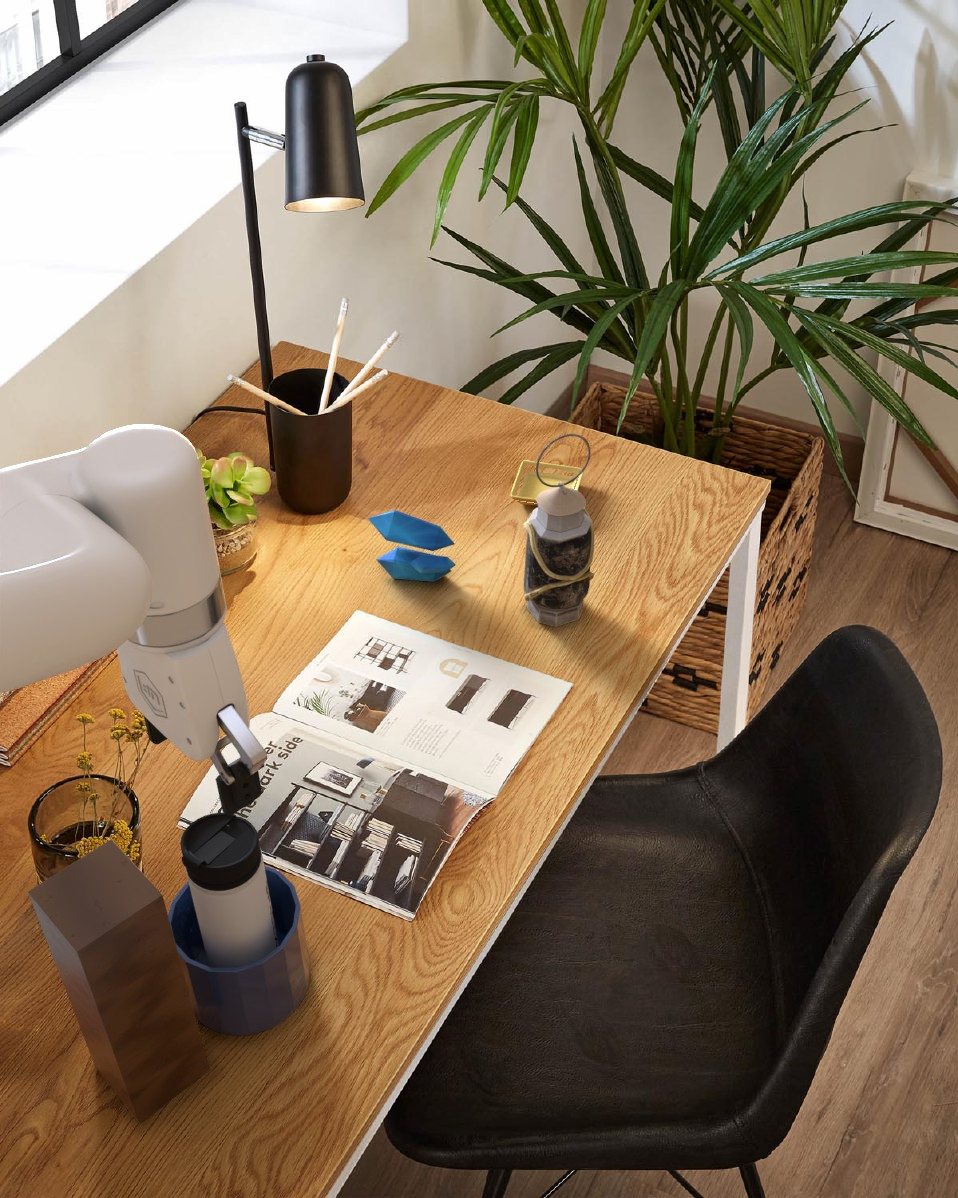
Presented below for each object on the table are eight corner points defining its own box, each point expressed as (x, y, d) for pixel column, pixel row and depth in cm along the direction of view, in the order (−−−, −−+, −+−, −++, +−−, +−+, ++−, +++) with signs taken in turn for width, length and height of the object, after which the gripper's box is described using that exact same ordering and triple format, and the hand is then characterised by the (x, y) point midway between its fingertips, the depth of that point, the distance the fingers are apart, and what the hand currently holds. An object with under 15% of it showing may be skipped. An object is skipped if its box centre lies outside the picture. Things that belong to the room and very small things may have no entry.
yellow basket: (584, 480, 174) (584, 467, 172) (573, 517, 167) (573, 504, 166) (522, 471, 175) (522, 459, 174) (508, 508, 169) (509, 495, 168)
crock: (232, 1060, 109) (216, 997, 103) (160, 977, 116) (141, 912, 109) (334, 981, 115) (325, 916, 109) (261, 906, 121) (248, 840, 115)
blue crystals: (459, 554, 151) (362, 525, 150) (444, 605, 157) (350, 578, 156) (470, 516, 156) (376, 489, 156) (455, 567, 162) (364, 541, 162)
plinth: (139, 1124, 105) (76, 951, 89) (95, 1067, 109) (27, 891, 93) (210, 1070, 109) (162, 894, 92) (164, 1016, 113) (111, 838, 96)
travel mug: (195, 984, 114) (159, 845, 101) (246, 933, 118) (217, 792, 105) (247, 1020, 112) (216, 882, 98) (297, 966, 116) (273, 827, 103)
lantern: (571, 579, 158) (582, 407, 141) (603, 618, 152) (619, 444, 136) (508, 598, 155) (512, 426, 139) (539, 639, 150) (547, 464, 133)
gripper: (52, 565, 88) (102, 732, 100) (193, 693, 79) (230, 863, 90) (145, 519, 92) (183, 685, 103) (290, 636, 83) (314, 805, 94)
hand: (205, 768), depth 97 cm, fingers open, 9 cm apart
